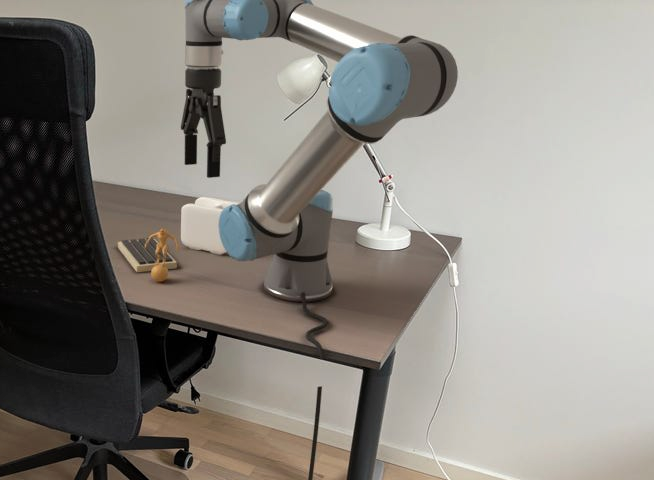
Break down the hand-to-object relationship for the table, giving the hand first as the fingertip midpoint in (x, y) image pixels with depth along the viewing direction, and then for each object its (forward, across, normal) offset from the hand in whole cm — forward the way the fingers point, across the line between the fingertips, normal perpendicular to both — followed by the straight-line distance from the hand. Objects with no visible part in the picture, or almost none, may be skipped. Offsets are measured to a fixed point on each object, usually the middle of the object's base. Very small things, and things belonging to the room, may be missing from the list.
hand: (201, 170), depth 163 cm
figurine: (+25, +1, +9) cm, 27 cm away
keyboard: (+25, +17, +8) cm, 31 cm away
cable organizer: (+25, +20, -11) cm, 33 cm away
